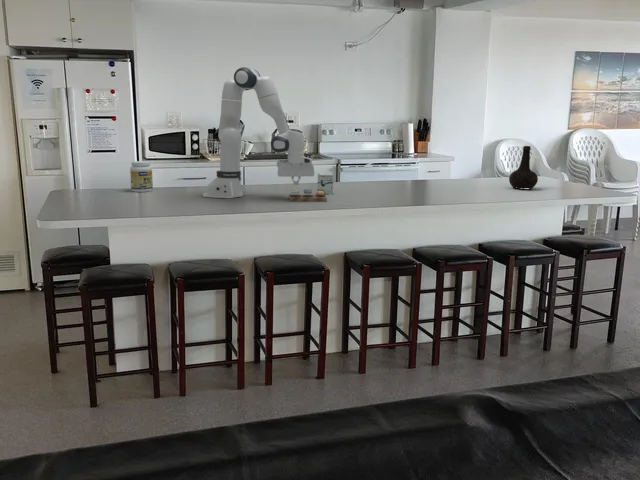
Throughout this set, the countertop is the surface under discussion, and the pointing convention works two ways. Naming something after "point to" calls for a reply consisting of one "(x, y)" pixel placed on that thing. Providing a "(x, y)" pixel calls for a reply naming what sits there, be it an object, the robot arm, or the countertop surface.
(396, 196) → the countertop surface
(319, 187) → the ink box
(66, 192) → the countertop surface
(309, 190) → the slate button
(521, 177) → the glass bottle
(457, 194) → the countertop surface
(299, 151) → the robot arm
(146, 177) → the supplement tub
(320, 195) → the terracotta button
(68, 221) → the countertop surface
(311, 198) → the button panel
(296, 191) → the cream button
